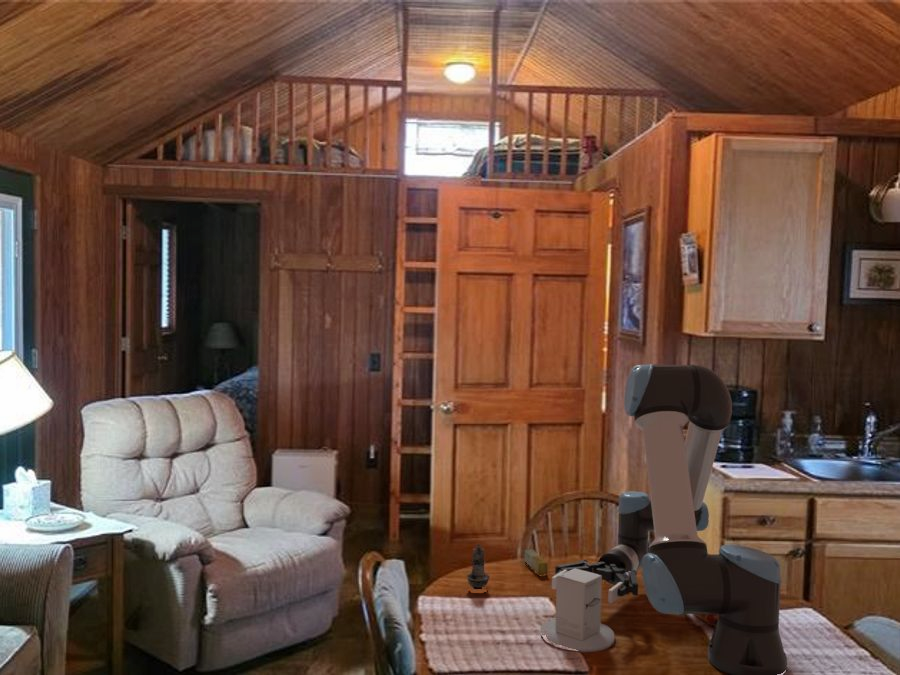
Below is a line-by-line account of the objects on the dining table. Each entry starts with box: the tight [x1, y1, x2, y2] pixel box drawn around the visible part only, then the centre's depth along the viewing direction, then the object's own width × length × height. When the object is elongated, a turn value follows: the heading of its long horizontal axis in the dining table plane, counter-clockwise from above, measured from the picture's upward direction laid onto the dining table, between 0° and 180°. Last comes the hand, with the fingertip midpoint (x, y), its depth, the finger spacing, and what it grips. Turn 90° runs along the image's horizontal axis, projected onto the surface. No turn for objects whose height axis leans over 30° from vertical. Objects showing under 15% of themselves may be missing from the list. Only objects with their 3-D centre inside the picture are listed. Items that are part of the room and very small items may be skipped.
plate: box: [540, 618, 615, 653], centre depth 174 cm, size 16×16×1 cm
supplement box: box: [555, 568, 603, 641], centre depth 174 cm, size 7×7×13 cm
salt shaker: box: [466, 543, 490, 589], centre depth 201 cm, size 6×6×12 cm
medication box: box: [524, 548, 549, 576], centre depth 218 cm, size 12×3×4 cm, turn 14°
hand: (580, 589), depth 176 cm, fingers open, 13 cm apart
